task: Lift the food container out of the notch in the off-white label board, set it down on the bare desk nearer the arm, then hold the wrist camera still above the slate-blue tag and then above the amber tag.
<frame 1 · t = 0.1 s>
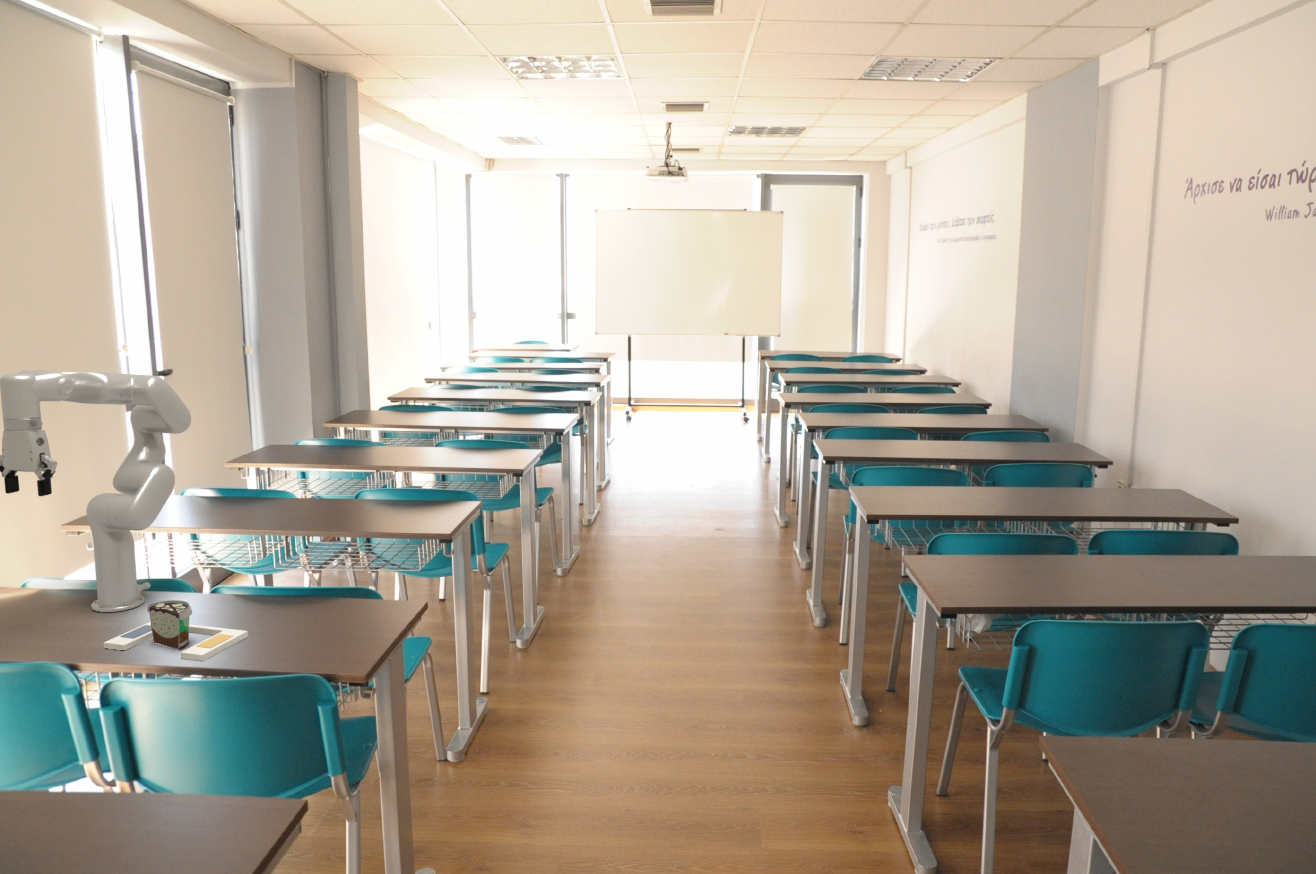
hand: (28, 493, 215), 37 cm above the table, tool pointing down, fingers open, 9 cm apart
label board: (177, 642, 219), on the table
food container: (177, 643, 219), on the table
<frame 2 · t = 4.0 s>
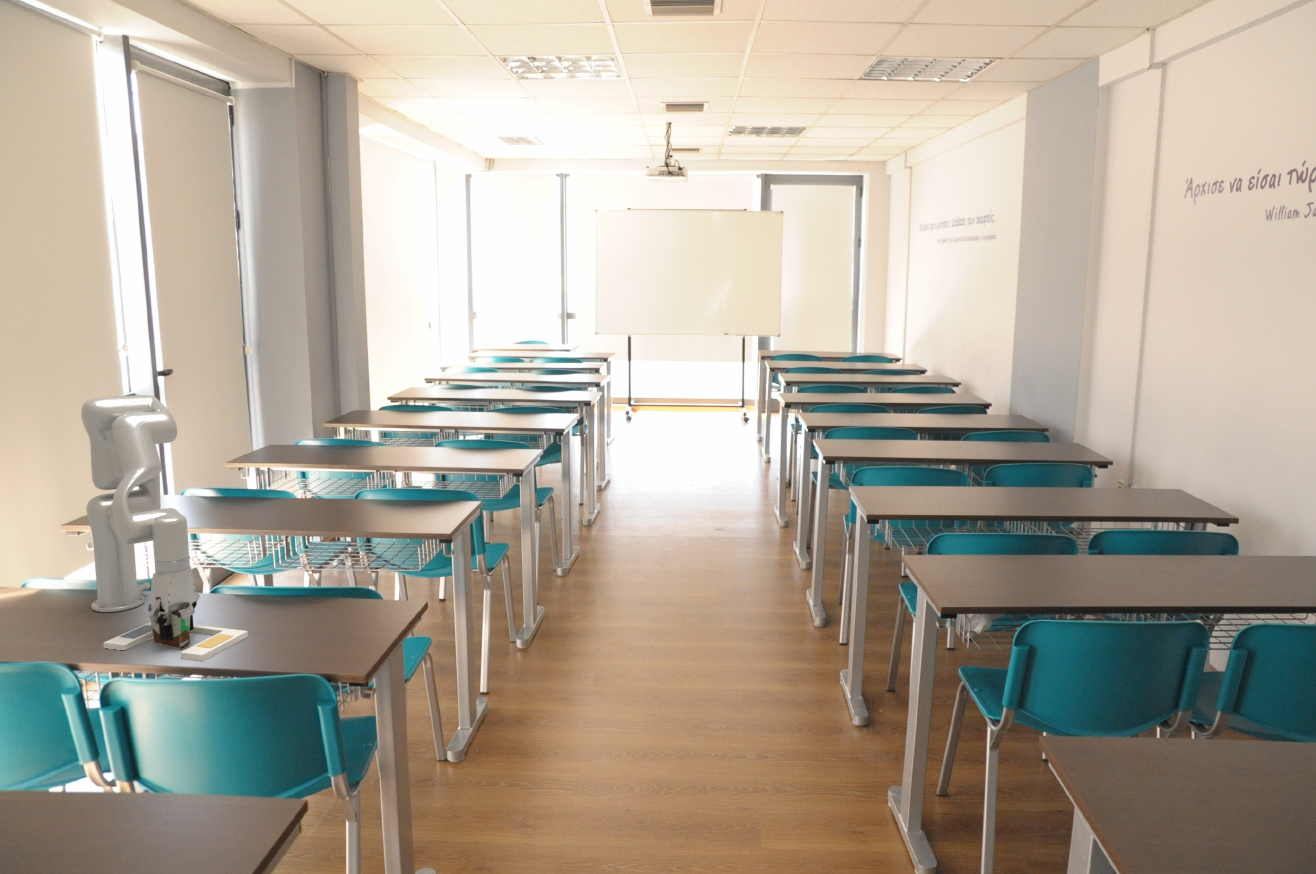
hand: (177, 633, 218), 2 cm above the table, tool pointing down, fingers open, 6 cm apart
food container: (178, 643, 219), on the table, touching gripper
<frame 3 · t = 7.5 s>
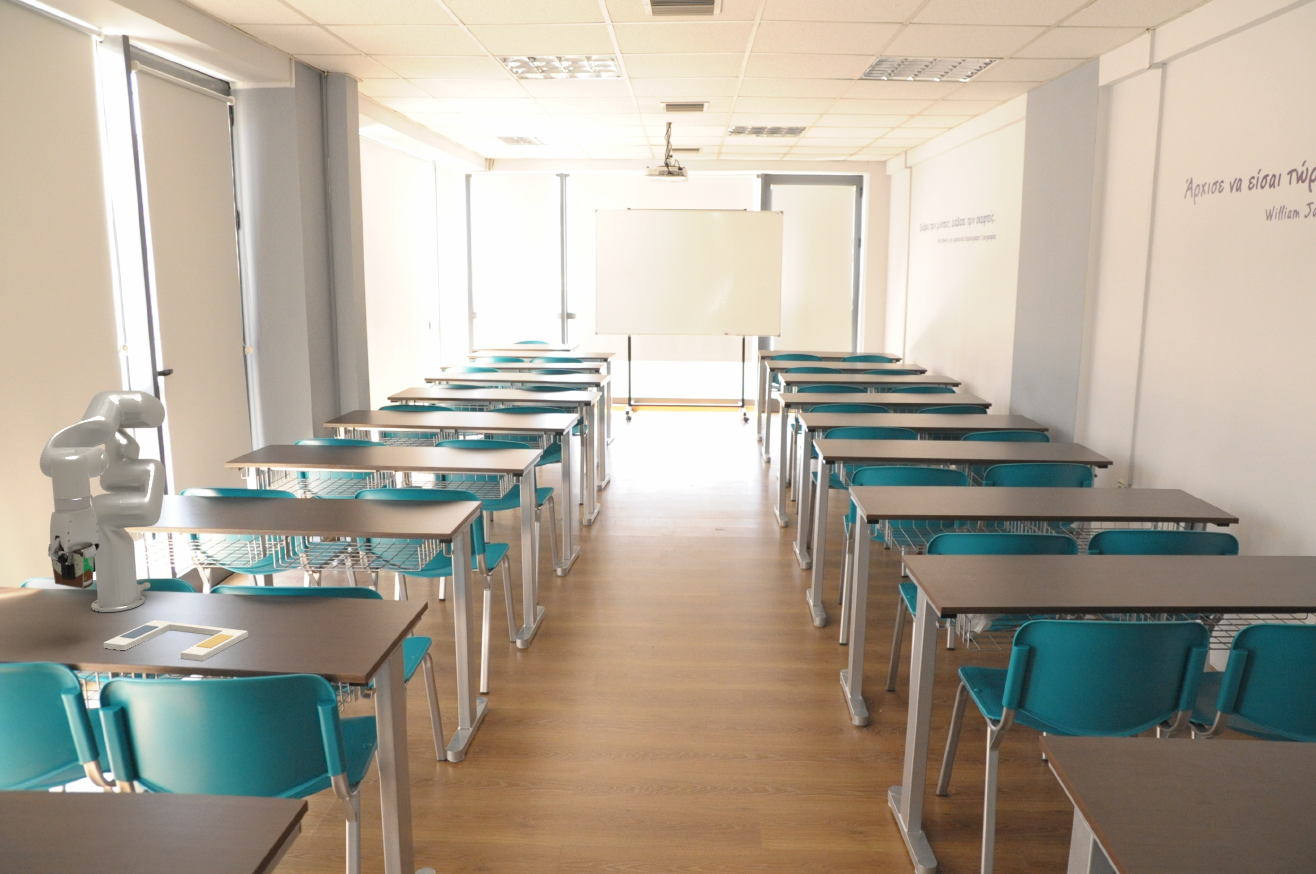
hand: (79, 574, 215), 17 cm above the table, tool pointing down, fingers closed on food container, 5 cm apart
food container: (81, 583, 217), point 15 cm above the table, touching gripper
when the fingers open (4 cm above the table, at t = 10.6 s): food container drops 1 cm, on the table.
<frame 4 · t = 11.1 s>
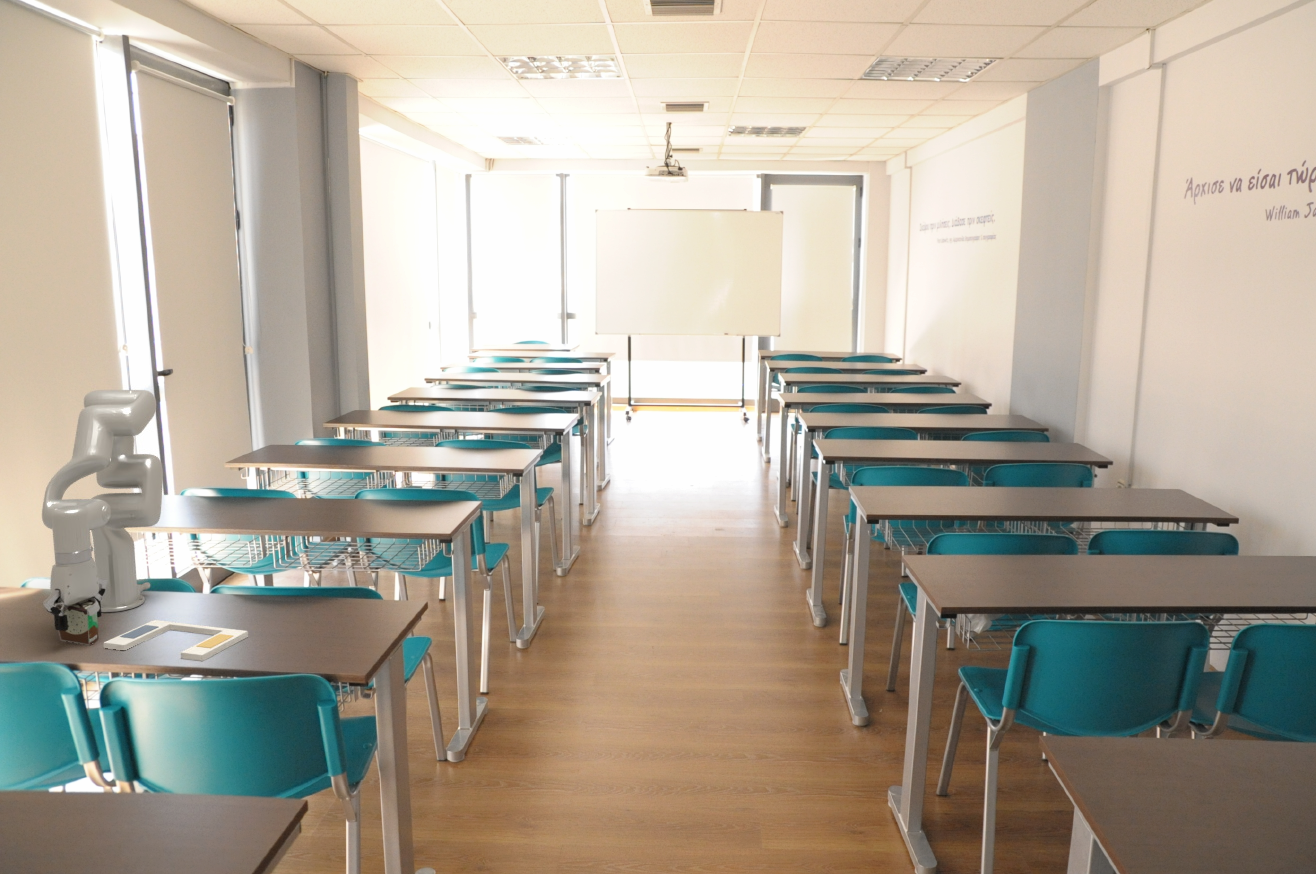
hand: (78, 623, 217), 5 cm above the table, tool pointing down, fingers open, 9 cm apart
food container: (86, 638, 220), on the table
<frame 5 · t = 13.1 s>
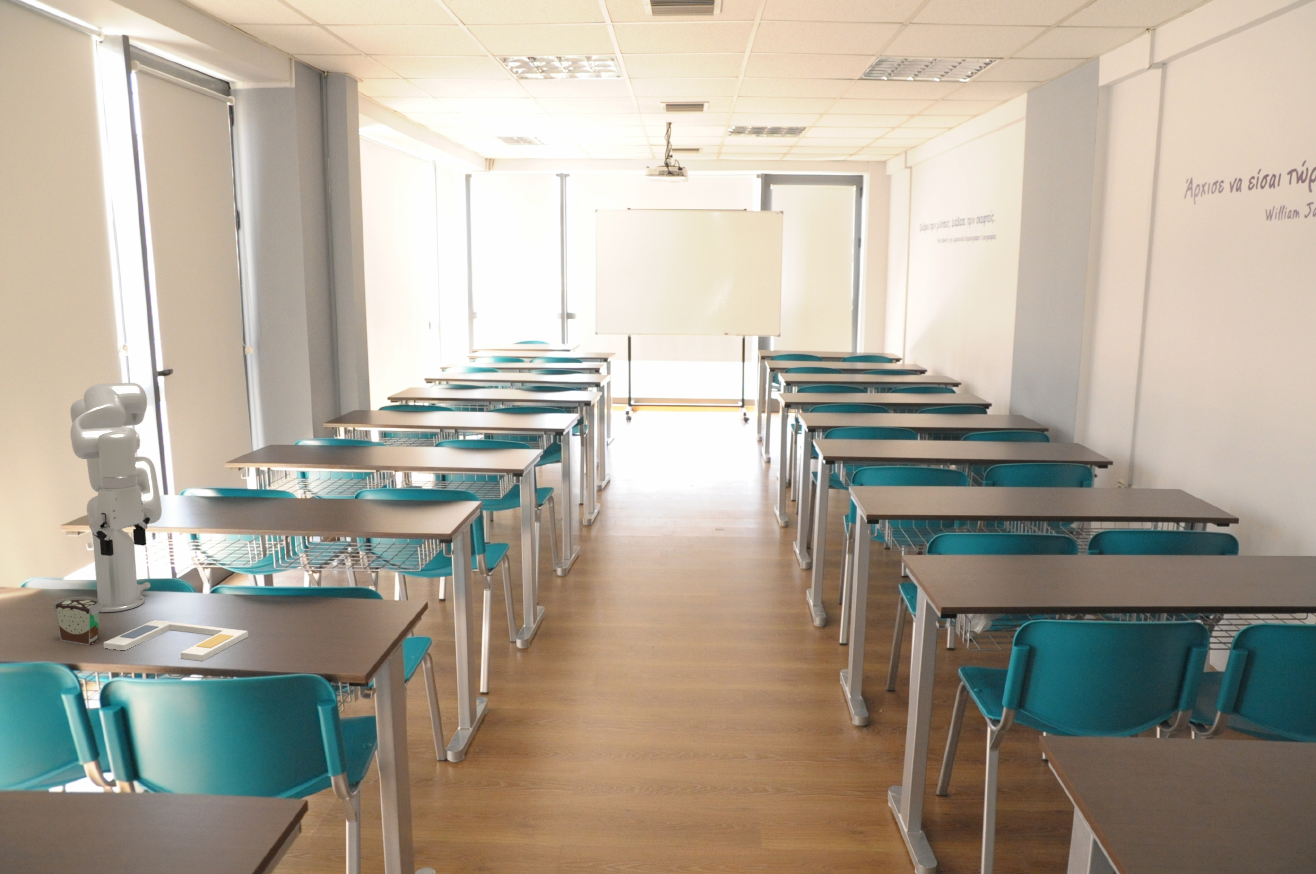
hand: (124, 549, 217), 23 cm above the table, tool pointing down, fingers open, 9 cm apart
nothing on the table moved.
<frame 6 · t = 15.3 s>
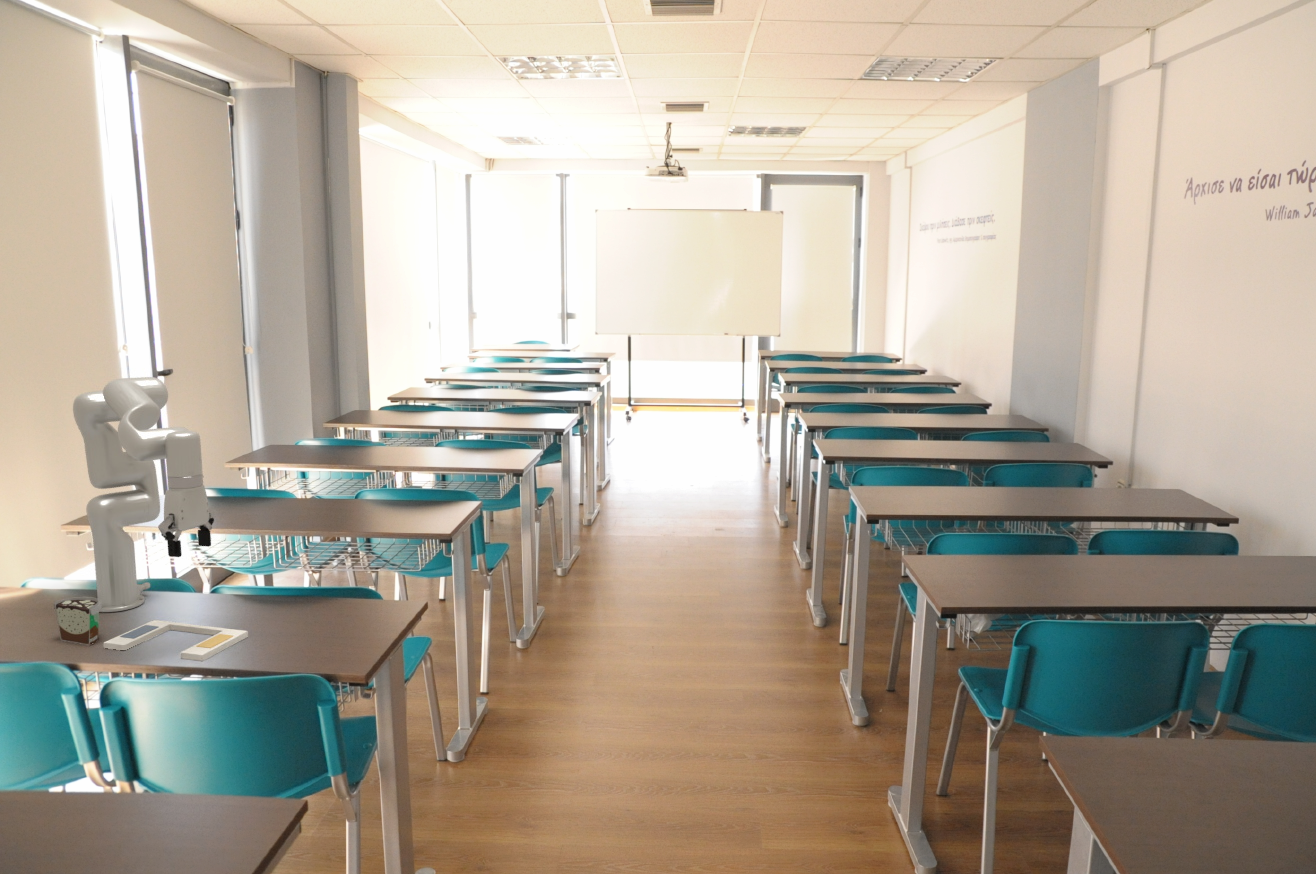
hand: (190, 551, 214), 24 cm above the table, tool pointing down, fingers open, 9 cm apart
nothing on the table moved.
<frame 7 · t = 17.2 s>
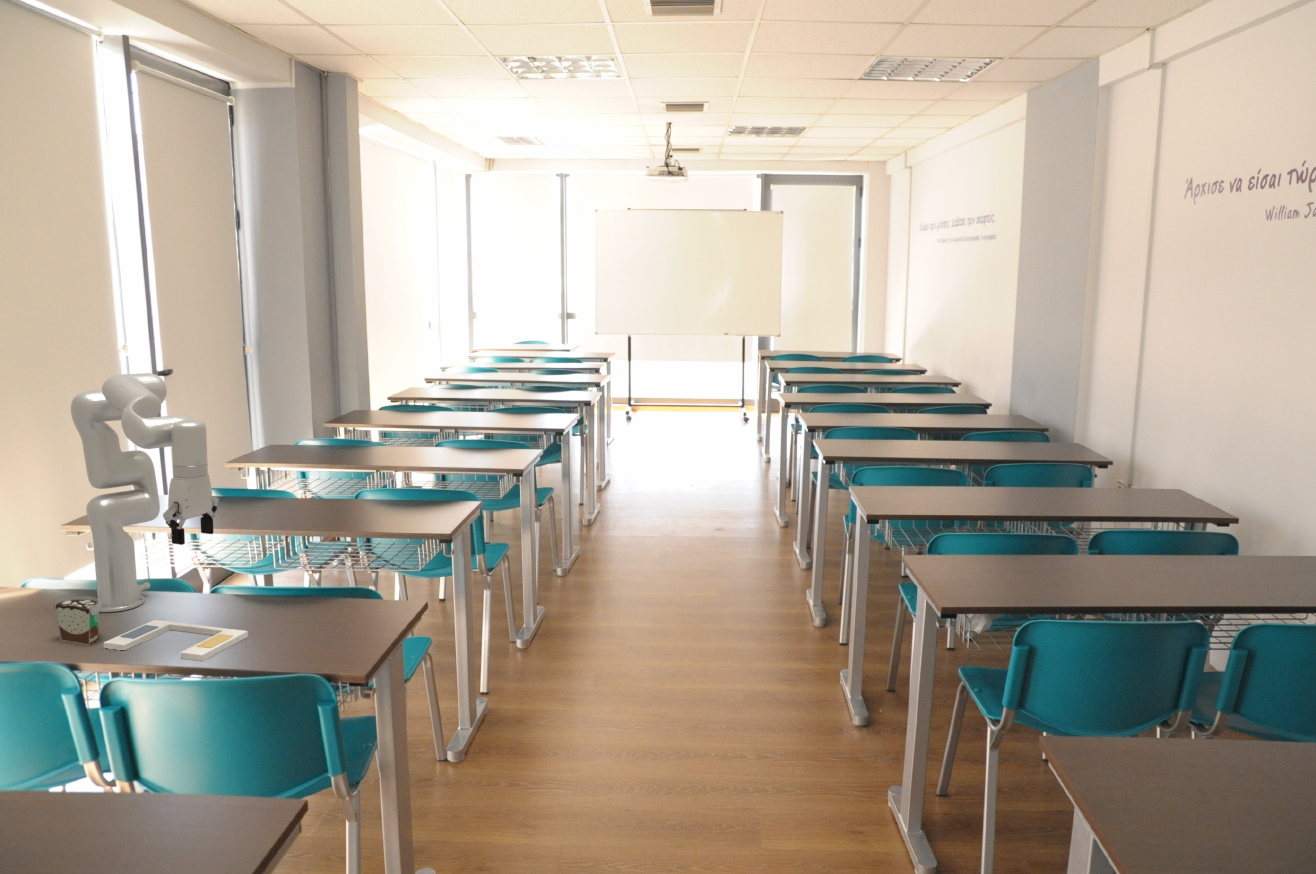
hand: (193, 538, 216), 26 cm above the table, tool pointing down, fingers open, 9 cm apart
nothing on the table moved.
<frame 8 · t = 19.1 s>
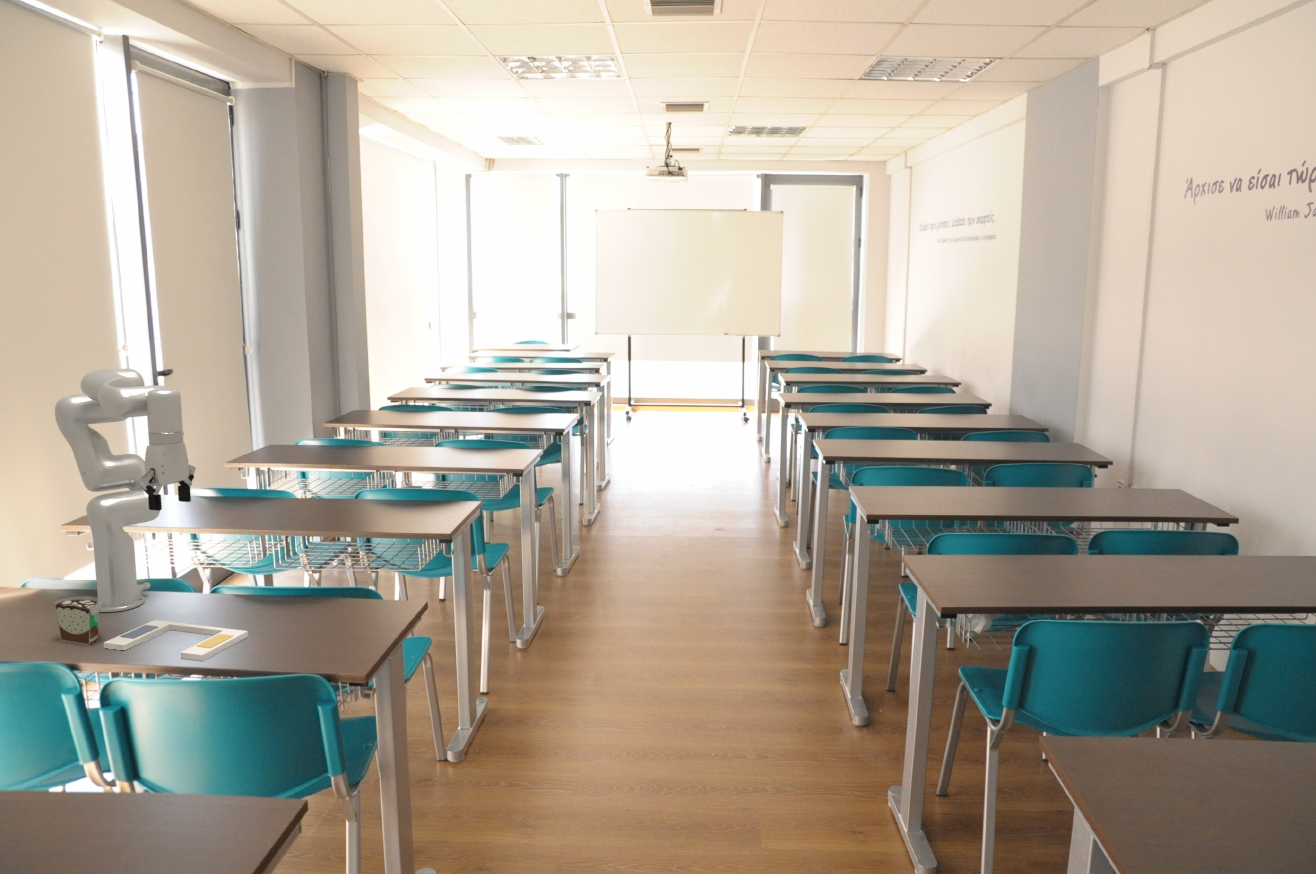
hand: (170, 505, 220), 33 cm above the table, tool pointing down, fingers open, 9 cm apart
nothing on the table moved.
at the end: food container inside the target area (1.9 cm from its centre), on the table; food container tilted 0°; the gripper is holding nothing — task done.
